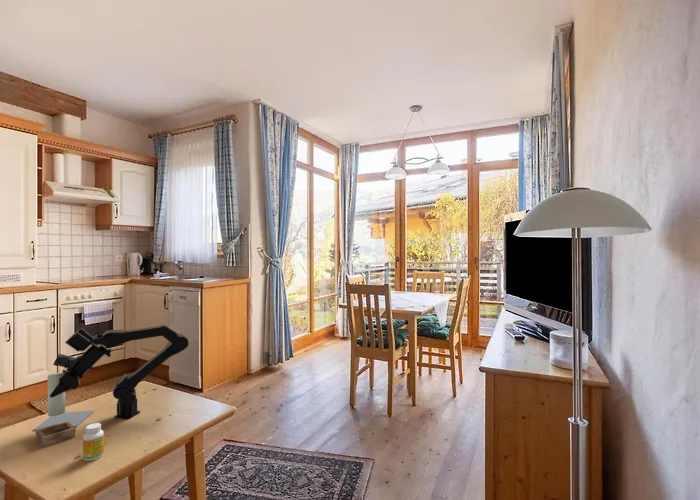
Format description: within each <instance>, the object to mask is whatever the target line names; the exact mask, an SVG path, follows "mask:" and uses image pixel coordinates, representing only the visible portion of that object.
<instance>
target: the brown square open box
mask: <svg viewBox="0 0 700 500" xmlns="http://www.w3.org/2000/svg"><path fill="white" fill-rule="evenodd" d="M74 438H76V427H74V426H72V425H71V424H70V423H69V422H68V421H65V422H62V423H59V424H55V425H52V426H48V427H45V428H41V429H38V430H36V431H35V439H36V441H37V442H38V443H39V444H40V446H41V448H45V447H48V446H51V445H54V444H57V443H60V442H64V441H67V440H70V439H74Z"/></svg>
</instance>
